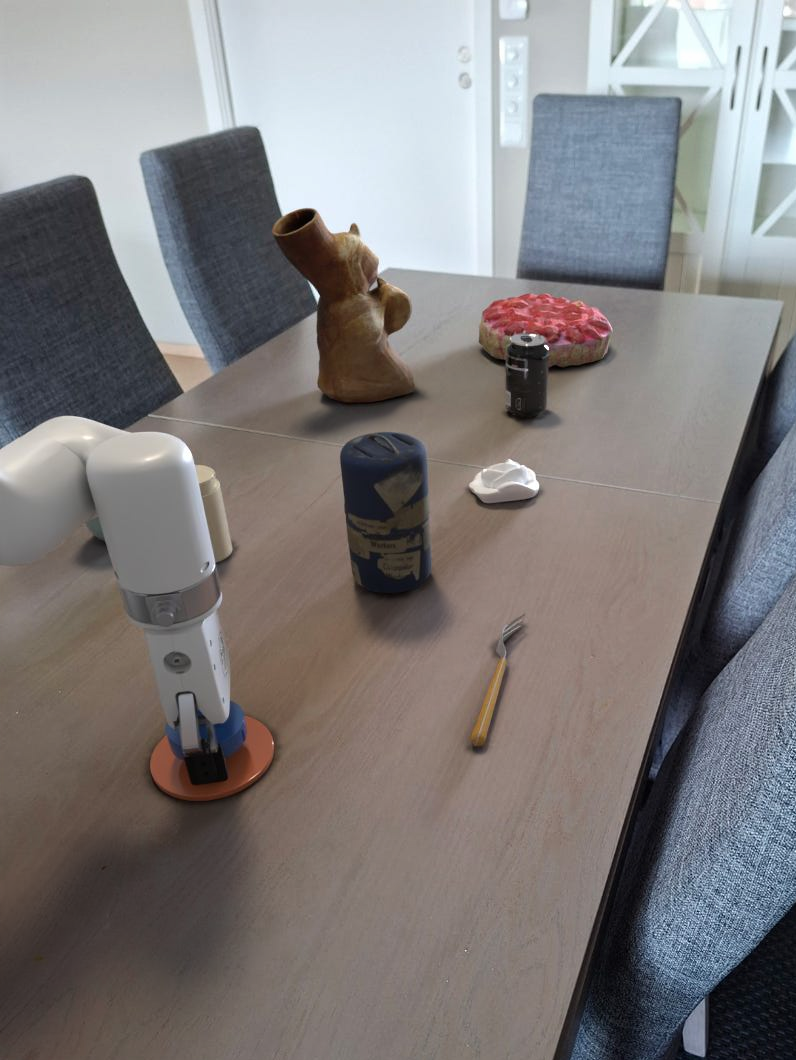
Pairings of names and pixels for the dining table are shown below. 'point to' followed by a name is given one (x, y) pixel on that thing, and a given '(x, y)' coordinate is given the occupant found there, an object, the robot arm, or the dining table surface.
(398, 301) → the ceramic vessel
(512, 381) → the beverage can
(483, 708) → the fork
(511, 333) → the cake
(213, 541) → the jam jar
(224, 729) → the jam lid
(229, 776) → the coaster
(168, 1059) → the dining table surface
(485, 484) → the rose
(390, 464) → the canister
